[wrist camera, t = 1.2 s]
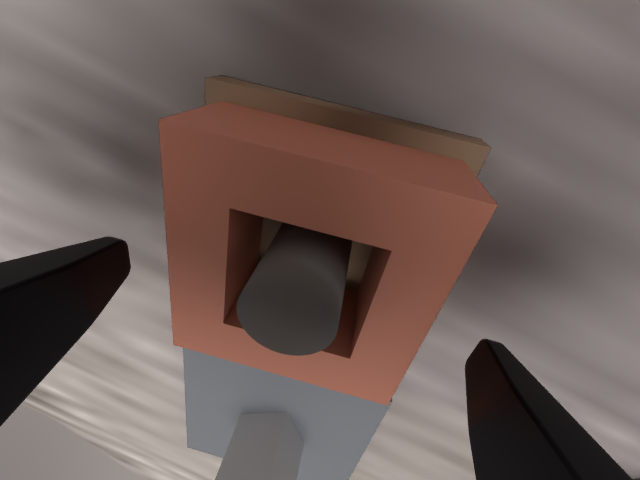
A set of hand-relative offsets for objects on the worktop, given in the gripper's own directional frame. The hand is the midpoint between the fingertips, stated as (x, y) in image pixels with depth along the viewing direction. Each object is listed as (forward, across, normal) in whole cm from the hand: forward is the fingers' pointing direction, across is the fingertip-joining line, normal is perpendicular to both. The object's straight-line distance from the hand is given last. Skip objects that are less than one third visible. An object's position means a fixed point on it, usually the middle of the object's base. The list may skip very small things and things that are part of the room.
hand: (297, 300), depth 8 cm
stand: (+4, 0, 0) cm, 4 cm away
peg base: (+4, 0, +12) cm, 13 cm away
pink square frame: (+3, 0, 0) cm, 3 cm away
